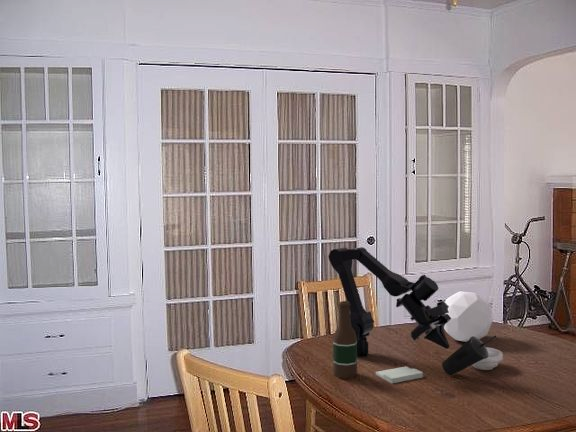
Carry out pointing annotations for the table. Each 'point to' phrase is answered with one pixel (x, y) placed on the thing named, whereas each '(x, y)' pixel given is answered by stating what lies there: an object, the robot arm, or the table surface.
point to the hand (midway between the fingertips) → (448, 347)
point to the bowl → (489, 360)
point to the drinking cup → (466, 355)
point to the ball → (468, 316)
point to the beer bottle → (344, 345)
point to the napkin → (400, 374)
